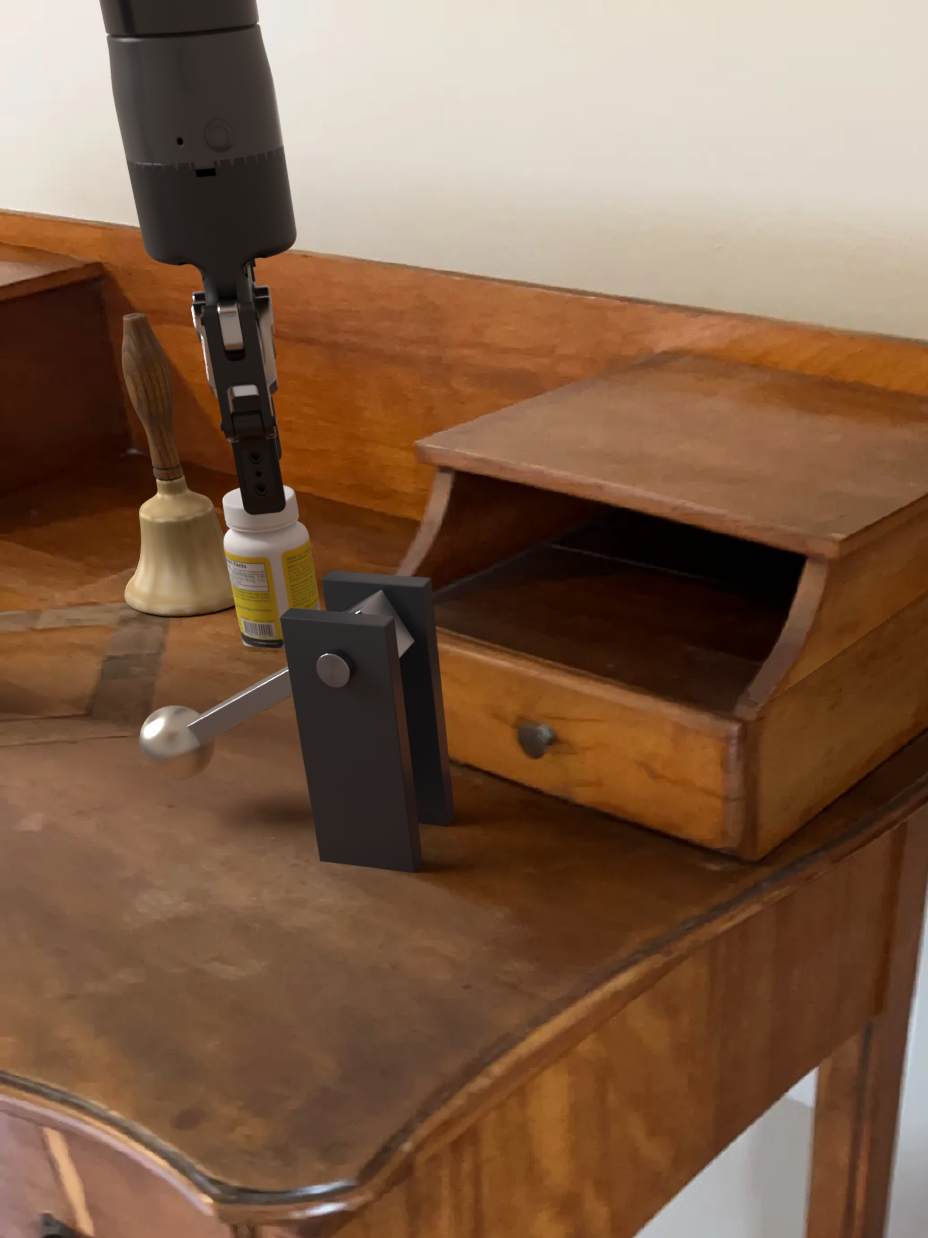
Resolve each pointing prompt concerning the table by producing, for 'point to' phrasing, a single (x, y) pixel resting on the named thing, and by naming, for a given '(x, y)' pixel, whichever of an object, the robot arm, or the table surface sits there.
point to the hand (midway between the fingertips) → (264, 486)
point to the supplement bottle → (268, 568)
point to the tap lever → (229, 712)
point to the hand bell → (170, 499)
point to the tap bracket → (370, 720)
